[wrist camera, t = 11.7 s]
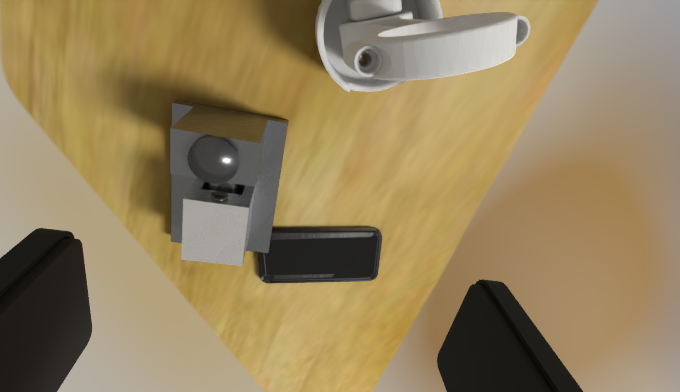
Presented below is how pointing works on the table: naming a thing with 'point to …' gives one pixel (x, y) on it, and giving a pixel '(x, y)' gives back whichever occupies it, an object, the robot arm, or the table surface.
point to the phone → (321, 255)
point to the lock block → (216, 224)
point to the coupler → (226, 161)
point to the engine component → (409, 41)
